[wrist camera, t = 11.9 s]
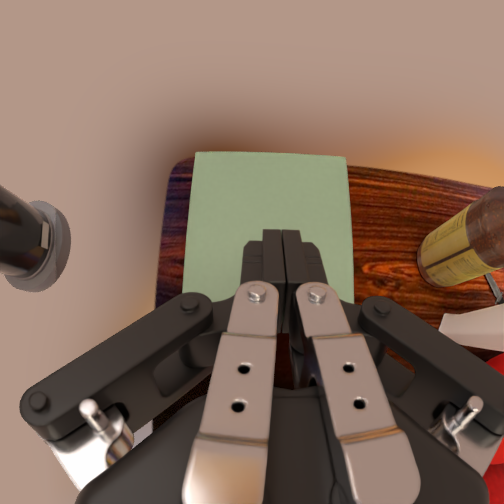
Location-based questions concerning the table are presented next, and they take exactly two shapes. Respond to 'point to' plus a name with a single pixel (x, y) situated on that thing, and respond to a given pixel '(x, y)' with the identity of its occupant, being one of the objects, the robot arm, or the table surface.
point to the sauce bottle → (465, 243)
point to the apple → (495, 483)
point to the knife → (495, 289)
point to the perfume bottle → (476, 328)
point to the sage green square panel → (265, 215)
